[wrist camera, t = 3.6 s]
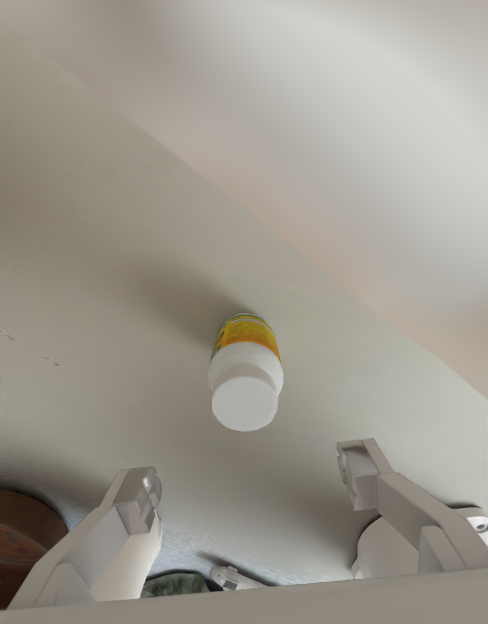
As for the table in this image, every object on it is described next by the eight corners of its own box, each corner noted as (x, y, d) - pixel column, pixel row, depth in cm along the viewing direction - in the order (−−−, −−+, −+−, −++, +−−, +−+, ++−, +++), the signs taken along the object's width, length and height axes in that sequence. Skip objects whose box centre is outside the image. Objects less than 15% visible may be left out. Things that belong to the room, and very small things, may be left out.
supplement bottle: (271, 364, 25) (285, 444, 16) (217, 361, 25) (199, 440, 16) (276, 312, 23) (295, 369, 14) (218, 309, 23) (198, 363, 14)
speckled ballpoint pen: (370, 650, 39) (203, 582, 33) (369, 626, 40) (209, 557, 35) (384, 656, 37) (210, 586, 32) (382, 630, 39) (217, 560, 33)
